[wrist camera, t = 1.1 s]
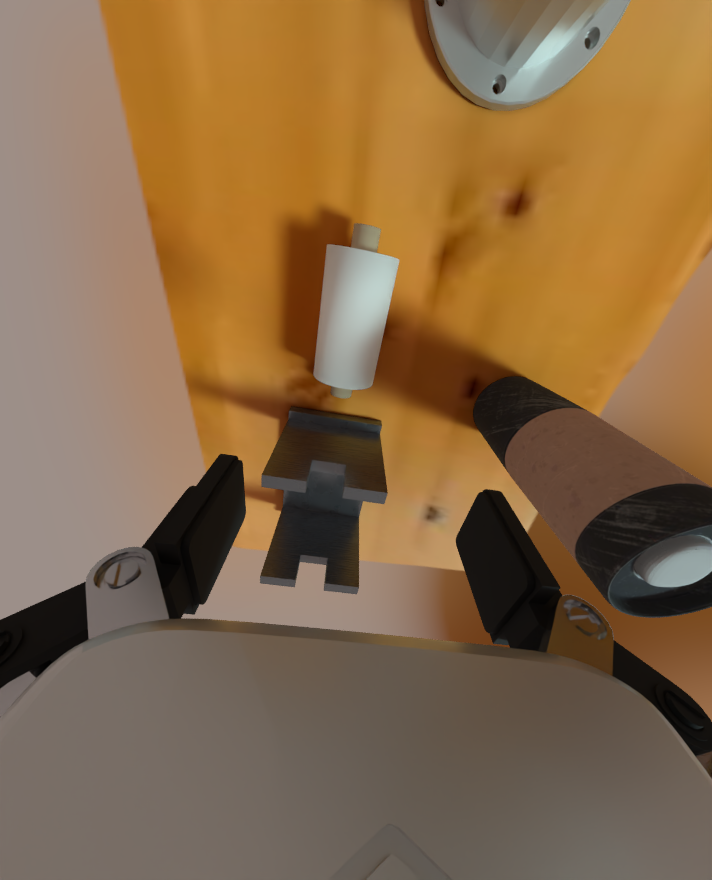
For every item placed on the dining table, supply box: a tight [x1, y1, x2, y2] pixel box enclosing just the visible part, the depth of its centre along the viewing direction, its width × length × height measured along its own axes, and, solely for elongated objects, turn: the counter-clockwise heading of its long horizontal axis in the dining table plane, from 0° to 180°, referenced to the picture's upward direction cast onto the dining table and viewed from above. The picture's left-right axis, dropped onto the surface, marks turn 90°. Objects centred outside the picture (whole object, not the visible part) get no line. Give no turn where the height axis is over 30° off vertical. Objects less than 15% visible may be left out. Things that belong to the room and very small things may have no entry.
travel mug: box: [473, 376, 712, 617], centre depth 22 cm, size 8×8×20 cm
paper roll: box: [313, 223, 399, 398], centre depth 24 cm, size 13×6×6 cm, turn 170°
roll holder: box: [260, 406, 387, 594], centre depth 31 cm, size 16×10×11 cm, turn 170°
